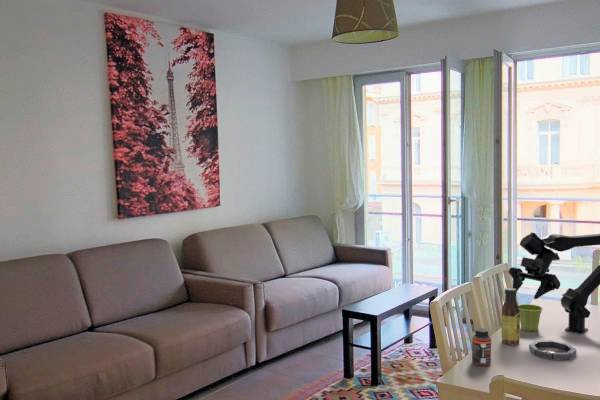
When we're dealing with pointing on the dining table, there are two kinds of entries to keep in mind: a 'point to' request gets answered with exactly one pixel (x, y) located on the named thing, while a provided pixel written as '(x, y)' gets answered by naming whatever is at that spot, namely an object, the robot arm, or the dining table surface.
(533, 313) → the plant pot
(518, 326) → the sauce bottle
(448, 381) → the dining table surface
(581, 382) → the dining table surface
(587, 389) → the dining table surface
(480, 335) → the supplement bottle
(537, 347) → the dark grey octagonal tray
